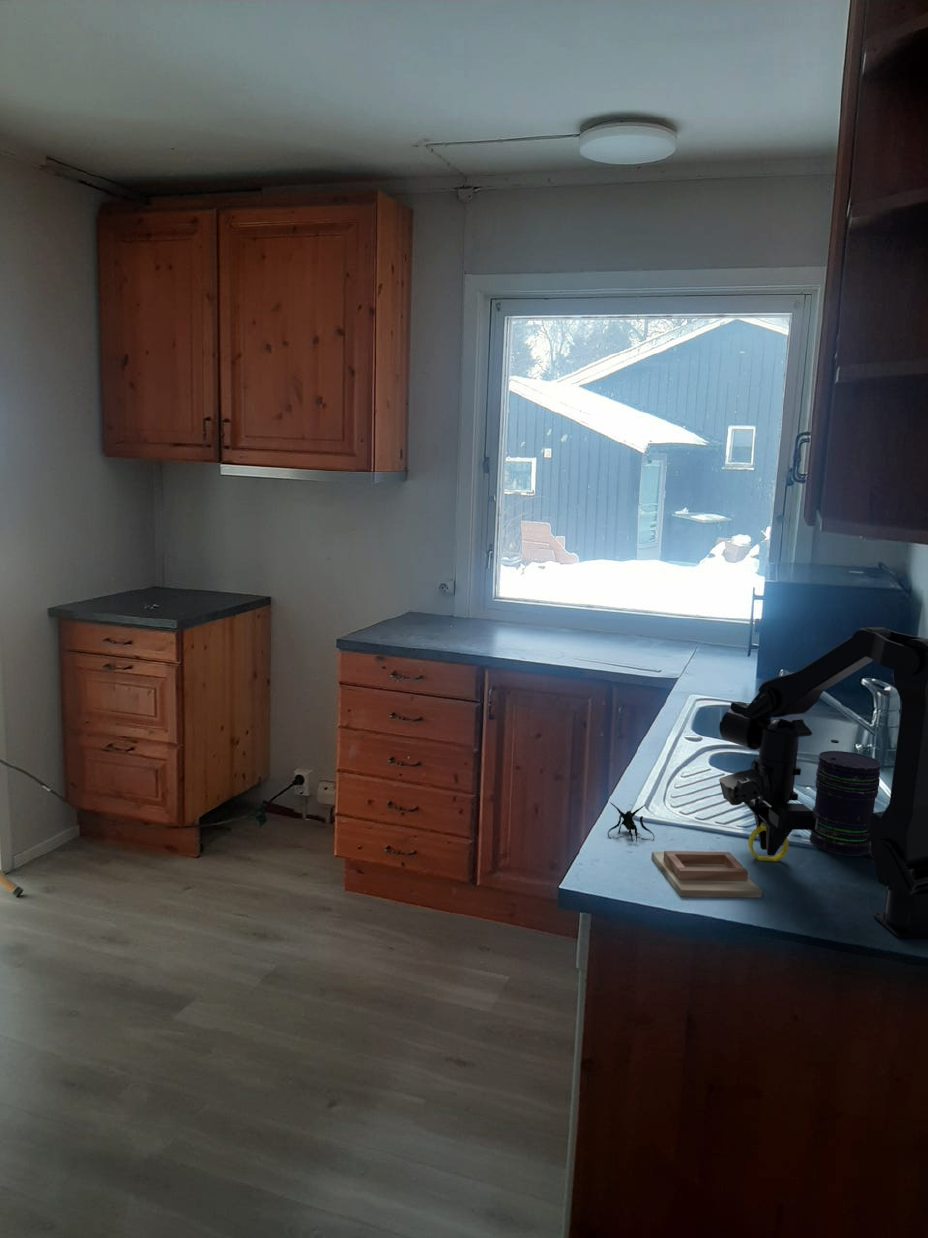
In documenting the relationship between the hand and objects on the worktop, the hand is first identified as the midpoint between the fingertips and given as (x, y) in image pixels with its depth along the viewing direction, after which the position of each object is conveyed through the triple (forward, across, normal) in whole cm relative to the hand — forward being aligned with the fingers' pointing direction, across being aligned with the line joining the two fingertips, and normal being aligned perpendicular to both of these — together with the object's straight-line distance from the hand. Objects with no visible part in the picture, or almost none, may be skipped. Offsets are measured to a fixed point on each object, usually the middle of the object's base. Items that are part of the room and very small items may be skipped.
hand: (767, 852), depth 150 cm
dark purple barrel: (+2, -7, +16) cm, 18 cm away
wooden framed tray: (+1, +7, -13) cm, 15 cm away
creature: (+2, -9, -20) cm, 22 cm away
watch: (+1, 0, 0) cm, 1 cm away
